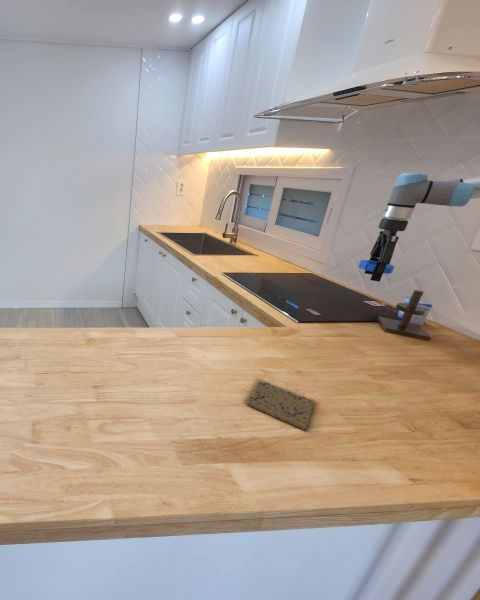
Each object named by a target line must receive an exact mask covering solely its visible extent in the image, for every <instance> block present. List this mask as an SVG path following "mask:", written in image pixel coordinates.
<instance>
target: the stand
mask: <svg viewBox="0 0 480 600" xmlns="http://www.w3.org/2000/svg"><path fill="white" fill-rule="evenodd" d="M423 295H424V291H422V290H419V289H414V290H413V292H412V294H411V296H410V297H411V298H410V301H409V303H408V304H407V303H404V302H398V303H397V304H396V306H395V309H396V310H398V311H402V312H404V314H403V316H402V318H400V320H399V319H393V318H389V317H383V316H379V315H378V316H377V317H376V319H375V320H376V321H377V323H378V325H379V326H380V327H381V328H382V330H383V332H384V333H390V334H392V335H393V334H394V335H399V336H403V337H408V338H411V339H412V338H413V339H418V340H422V341H427V342H430V340H431V336H430V335H429V333H428V332H426V330H425V329H424V328H423V327H422V326H420V325H419V324H414V323H409V322H410V320H411V318H412V316H413V314H414V315H424V314H425V312H426V310H425V309H424V308H422V307H419V306H417V305H418V303H419V301H420V299H422V297H423Z"/></svg>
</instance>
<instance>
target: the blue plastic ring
mask: <svg viewBox="0 0 480 600" xmlns="http://www.w3.org/2000/svg"><path fill="white" fill-rule="evenodd" d="M376 262H377V261H371V260H370V259H361V260H359V262H358V266H357V267H358V268H359V269H361V270H364V271H365V270H367V271H371V272H373V271H374V269H375V267H376V264H377V263H376ZM394 269H395V265H394V264H391V263H390V264H387V265H386V268H385V270H384V273H383V274H386V275H388V274H389V275H390V274H392V273H393V272H394Z"/></svg>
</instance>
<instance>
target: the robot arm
mask: <svg viewBox="0 0 480 600" xmlns="http://www.w3.org/2000/svg"><path fill="white" fill-rule="evenodd" d="M428 176H429V175H428V174H427V173H416V172H415V173H413V172H404V173H401V174H399V175H398V177H397V179H396V181H395V183H394V185H393V188H392V191H391V193H390V196H389V198H388V202H387V204H386V207H384V208H383V209H382V210H383V214H382V218H381V219H380V222H379V223H378V228H379V229H381V230H380V231H379V234H378V236H377V238H376V240H375V243H374V244H373V246H372V249H371V250H370V252H369V255H370V257H369V260H371V261H377V262H376V263H377V264H376V267H375V269H374V271H373V272H371V271H367V270H364V274H367V275H371V276H370V279H369V280H370V281H373V282H378V283H379V282H381V279H382V277H383V275H384V274H385V273H384V270H385V268H386V265H387V264H390V265H391V261H392V259H393V255H394V253H395V248H396V245H397V243H398V241H399V238H400V237H399V236H397V233H398V232H405V231H406V230H407V227H408V224H409V221H408V220H410V219H411V217H412V215H413V213H414V211H415V208H416V205H417V204H421V205H422V204H424V205H434V206H445V207H446V206H447V207H450V208H452V207H457V208H459V207H460V208H461V207H465V206H466V205H468V203H469V202H470V201H471V200H474V199H480V175H476V176H470V177H462V178H457V179H450V180H445V181H444V180H429V179H428Z"/></svg>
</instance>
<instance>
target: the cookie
mask: <svg viewBox="0 0 480 600" xmlns="http://www.w3.org/2000/svg"><path fill="white" fill-rule="evenodd" d="M246 406H248V407H251V408H253V409H255V410H258V411H260V412H263V413H264V414H267V415H269V416H272V417H274V418H276V419H278V420H280V421H282V422H284V423H287V424H289V425H292V426H293V427H296V428H299V429H301V430H302V431H307V429H308V427H309V424H310V419H311V416H312V413H313V410H314V407H315V402H314V401H313V400H311V399H309V398H307V397H304V396H301V395H298V394H295V393H293V392H290V391H288V390H286V389H282V388H280V387H277V386H275V385H272V384H271V383H269V382H265V381H263V380H260V381H259V382H258V384H257V385H256V387H255V388H254V391H253V392H252V393H251V396H250V397H249V399H248V401H247V402H246Z"/></svg>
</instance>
